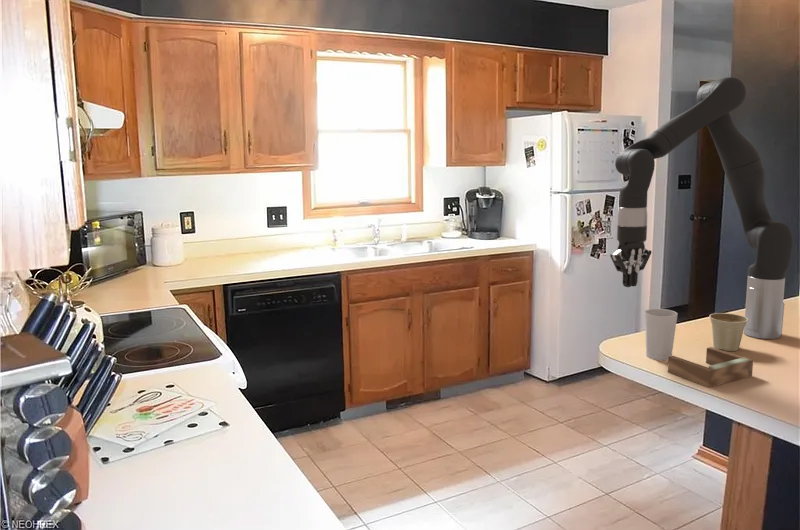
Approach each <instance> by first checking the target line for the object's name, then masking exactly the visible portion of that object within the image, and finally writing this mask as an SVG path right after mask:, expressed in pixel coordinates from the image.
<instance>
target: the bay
mask: <svg viewBox="0 0 800 530" xmlns="http://www.w3.org/2000/svg"><path fill="white" fill-rule="evenodd" d="M705 363H706V364H708V367H707V366H705V365H703V364H699V363H695V362H694V361H690V360H687V359H684V358H681V357H678V356H676V355H672V356H669V357H668V360H667V373H669V374H672V375H675V376H678V377H680V378H682V379H685V380H688V381H690V382H692V383H696V384H699V385H701V386H703V387H706V388H711V387H715V386H719V385H722V384H723V385H724V384H727V383H731V382H734V381H737V380H742V379H746V378H749V377H752V376H753V367H754V359H752V358H748V357H745V356H742V355H739V354H735V353H732V352H730V351H725V350H723V349H717V348H715V347H714V346H713V347H712V346H709V347H706V357H705Z"/></svg>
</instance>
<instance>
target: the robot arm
mask: <svg viewBox="0 0 800 530" xmlns="http://www.w3.org/2000/svg"><path fill="white" fill-rule="evenodd" d="M746 91H747V89H746V85H745V83H744V82H743V81H742V80H741V79H739V78H738V77H733V76H728V77H723V78H719V79H716V80H713V81H709V82H707V83H705V84H702V85H701V86H700V87H699V88H698V90H697V93H696V104H695V105H694V106H692V107H690V108H689V109H688V110H686V111H684V112H682V113H680V114H678V115H677V116H675V117H673V118H671V119H669V120H668V121H666V122H664V123H663V124H662V125H661V126H659V127H658V128H656V129H655V130H654V131H653V132H652V133H650V134H649V135H647V136H645V137H644V138H642V139H640V140H638V141H636V142H634V143H632V144H631V145H629V146H627V147H626V148H624V149H622V151H620V152H619V153H618V155H617V156H616V159H615V165H614V166H615V169H616V171H617V172H618V173H619V174H621V175H623V176H629V178H628V182H627V184H626V185H623V186H621V187H620V190H619V197H618V198H619V203H618V204H619V205H618V207H619V208H618V212H617V213H618V214H617V227H616V229H617V231H616V233H617V234H616V240H617V241H618V246H617V250H616V251H615V252H612V253H610V255H609V256H610V259H611V261H612V263H613V265H614V268H615V270H616V272H620V273H622V285H623V287H625V288H630V287H637V285H638V275H639V272H640V271H644V269H645V268H646V265H647V264H648V262H649V259H650V257H651V255H652V250H650V249H647V248H645V247H646V245H645V242H646V241H647V233H648V190H649V189H650V187H651V186H650V185H651V183H652V178H653V175H654V171H655V163H656V162H655V160H657V159H661V158H663V157H665V156H667V155H668V154H670V153H671V152H672V151H673V150H674V149H676V148H677V147H679V146H680V145H681V144H682V143H684V142H685V141H686V140H688V139H689V138H691V137H692V136H694V135H695V134H696V133H697V132H699V131H700V130H701V129H703V128H704V127H707V129H708V131H709V133H710V136H711V138H712V141H713V143H714V146H715V149H716V150H717V154H718V156H719V159H720V162H721V165H722V168H723V170H724V173H725V177H726V180H727V182H728V184H729V187H730V190H731V192H732V193H731V194H732V196H733V198H734V200H735V203H736V206H737V208H738V212H739V216H740V219H741V224H742V229H743V234H744V237H745V240H746V242H747V244H748V246H749V247H750V248H751V249H752V250H754V251H756V259H755V262H754V263H753V264H751V265H749V266H748V270H747V281H746V282H747V283H746V293H745V294H746V295H745V296H746V297H745V307H744V308H745V309H744V317H746V318H748V322H746V326H745V327H744V330H743V334H744V335H746V336H748V337H751V338H756V339H766V340H773V339H779V338H781V336H782V335H783V325H784V317H785V316H784V313H785V302H784V296H785V285H786V274H787V271H788V270H789V268H790V265H791V259H792V251H793V243H794V242H793V240H794V235H793V232H792V229H791V228H790V226H788V225H787V224H786V223H783V222H780V221H775V220H773V218H772V217H771V214H770V212H769V210H768V207H767V204H766V201H765V189H766V172H765V168H764V164H763V161H762V159H761V156H760V155H759V151H758V150H757V148H756V147H755V145H753V144H752V143H751V142H750V141H749V140H748V139H747V137H745V136H744V135H743V134H742V133H741V131H739V129H738V128H737V126H736V125H735V123H734V121H733V119H732V118H733V117H732V116H731V112H733V111H734V110H737V109H738V108H740V107H741V105H742V104H743V103H744V101H745V99H746V97H747V92H746Z"/></svg>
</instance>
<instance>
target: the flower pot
mask: <svg viewBox="0 0 800 530" xmlns="http://www.w3.org/2000/svg"><path fill="white" fill-rule="evenodd" d="M708 318H709V319H710V323H711V330H712V342H713V343H712V344H713V348H716V349H719V350H723V351H726V352H735V351H738V350H739V349H740V346H741V342H742V337H743V334H744V327H745V326H746V322H748V318H746V317H745V315H744V316H743V315H740V314H736V313H730V312H729V313H727V312H726V313H725V312H716V313H711V314H709V317H708Z"/></svg>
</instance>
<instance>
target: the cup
mask: <svg viewBox="0 0 800 530" xmlns="http://www.w3.org/2000/svg"><path fill="white" fill-rule="evenodd" d="M678 314H679V313H678V312H676V311H674V310H671V309H666V308H649V309H645V310H644V323H645V324H644V325H645V348H646V351H645V356H646V357H647V358H649V359H651V360H656V361H668V357H669V356H673V350H674V349H673V348H674V342H675V341H674V340H675V335H676V333H675V332H676V328H677V327H676V326H677V322H678Z"/></svg>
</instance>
